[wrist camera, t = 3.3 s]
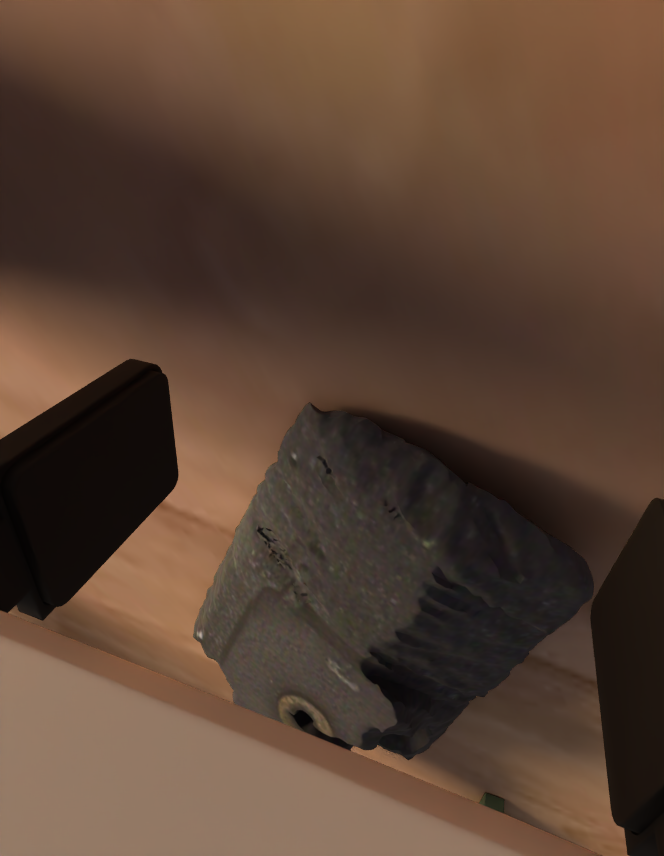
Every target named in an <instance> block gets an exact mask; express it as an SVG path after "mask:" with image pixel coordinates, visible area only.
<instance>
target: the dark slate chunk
mask: <svg viewBox="0 0 664 856" xmlns="http://www.w3.org/2000/svg"><path fill="white" fill-rule="evenodd" d="M593 592H594V583H593V578H592V574H591V571H590V569H589V567H588V565H587V563H586V561H585V560H584V558H583V557H582V556H580V555H579V554H578V553H577V552H576V551H575V550H573V549H572V548H571V547H569V546H568V545H566V544H564V543H563V542H561V541H560V540H558V539H556V538H555V537H553V536H551V535H549V534H548V533H546V532H545V531H543V530H542V529H540V528H539V527H538V526H536V525H535V524H534V523H532V522H531V521H529V520H528V519H526V518H525V517H523V516H521V515H520V514H519V513H517V512H516V511H515V510H514V509H513V508H512V507H511V506H510V505H509V504H508V503H507V502H506V501H505V500H499V499H497V498H496V497H495V496H493V495H492V494H491V493H489V492H488V491H485V490H483V489H480V488H478V487H476V486H474V485H473V484H472V483H470V482H469V483H464V482H463V481H462V480H461V479H460V478H459V477H458V476H457V475H456V474H454V473H453V472H452V471H451V470H450V469H449V468H448V467H447V466H446V465H444V464H443V463H442V462H441V461H440V460H439V459H437V458H436V457H435V456H434V455H432V454H431V453H430V452H428V451H427V450H425V449H423V448H420V447H417V446H415V445H412V444H408V443H406V441H405V440H404V439H402V438H400V437H398V436H396V435H394V434H391V433H388V432H386V431H383V430H382V429H380V427H379V426H378V425H376V424H375V423H373V422H372V421H370V420H369V419H367V418H366V417H355V416H352V415H351V414H349V413H347V412H345V411H329V412H322V411H320V410H318V409H317V408H316V407H315V406H314V405H313V404H311V403H310V402H309V403H308V404H307V405H306V406H305V407H304V408H303V410H302V412H301V413H300V414H299V415H298V417H297V419H296V423H295V424H294V425H293V426H292V427H291V428H290V429H289V430H288V431H287V433H286V435H285V437H284V439H283V441H282V444H281V447H280V450H279V451H278V462H276V463H274V464H272V465H271V466H270V467H269V468H268V469H267V471H266V474H265V480H264V481H263V482H262V483H260V484H259V485H258V487H257V494H256V495H254V497H253V499H252V501H251V503H250V505H249V507H248V509H247V511H246V513H245V515H244V516H243V518H242V520H241V522H240V525H239V526H237V528H236V530H235V536H234V539H233V542H232V544H231V545H230V547H229V549H228V551H227V553H226V556H225V558H224V560H223V561H222V563H221V564H220V565H219V568H218V570H217V572H216V574H215V576H214V583H213V585H212V586H211V587H210V588H209V589H208V590H207V596H206V599H205V600H204V603H203V605H202V607H201V608H200V612H199V615H198V617H197V619H196V622H195V626H194V634H193V637H194V638H195V639H196V640H197V641H199V642H200V643H201V645H202V648H203V650H204V652H205V654H206V655H207V657H209V658H211V659H214V660H216V661H217V662H218V664H219V666H220V668H221V669H222V671H223V673H224V674H225V676H226V679H227V681H228V683H229V684H230V686H231V688H232V689H233V690H234V691H233V701H234V703H235V704H236V705H239V706H241V707H243V708H246V709H248V710H251V711H253V712H256V713H258V714H261V715H263V716H266V717H268V718H271V719H273V720H276V721H278V722H281V723H283V724H286V725H288V726H290V727H293V728H295V729H298V730H300V731H303V732H305V733H308V734H310V735H313V736H315V737H318V738H320V739H323V740H325V741H328V742H330V743H332V744H335V745H337V746H340V747H342V748H345V749H347V750H350V751H351V748H352V747H353V746H356V747H359V748H361V749H363V750H372V749H374V748H376V747H377V745H379V746H381V747H382V748H384V749H386V750H389V751H391V752H394V753H397V754H400V755H402V756H403V757H404V758H406V759H408V760H410V759H412V758H413V757H414V756H415V755H416V754H420V753H422V752H424V751H426V750H427V749H428V748H429V747H430V745H431V744H432V743H433V742H434V741H435V740H437V739H438V738H439V737H440V736H441V735H442V734H443V733H444V732H445V731H446V730H447V728H448V726H449V725H451V724H452V723H453V721H454V720H455V719H456V718H457V717H458V716H459V715H460V714H461V712H462V711H463V710H464V709H465V708H466V707H467V706H468V704H469V701H471V700H473V699H474V698H476V696H480V697H485V696H486V695H487V694H488V691H489V690H491V689H494V688H495V687H497V686H498V685H499V684H500V683H501V682H502V681H503V680H504V679H506V678H507V677H508V676H509V674H510V671H511V670H512V668H514V667H515V666H516V665H517V664H520V663H522V662H523V661H524V659H525V658H526V657H527V655H528V654H529V651H531V650H532V649H533V648H534V647H535V646H536V645H537V644H538V643H539V642H541V641H542V640H543V639H544V638H545V637H546V636H547V635H549V634H551V633H553V632H554V631H555V630H557V629H558V628H559V627H560V626H562V625H563V624H564V623H566V622H567V621H568V620H570V619H571V618H572V617H573V616H574V615H575V614H576V613H577V612H578V610H579V609H580V607H581V606H582V605H583V604H584V603H586V602H588V601H589V600H590V599H591V598H592V596H593Z"/></svg>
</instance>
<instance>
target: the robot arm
mask: <svg viewBox="0 0 664 856" xmlns="http://www.w3.org/2000/svg"><path fill="white" fill-rule="evenodd" d="M177 481H178V465H177V456H176V447H175V439H174V430H173V421H172V412H171V403H170V394H169V385H168V379H167V377H166V375H165V374H163V373H162V370H161V369H160V367H159V366H158V365H156V364H152V363H148V362H144V361H140V360H136V359H129V360H126V361H125V362H123V363H122V364H120V365H118V366H117V367H115V368H114V369H112V370H110V371H109V372H107V373H106V374H104V375H102V376H101V377H99V378H98V379H96V380H94V381H93V382H91V383H90V384H88V385H87V386H85V387H83V388H82V389H80V390H79V391H77V392H75V393H74V394H72V395H71V396H69V397H67V398H66V399H64V400H63V401H61V402H59V403H58V404H56V405H55V406H53V407H51V408H50V409H48V410H47V411H45V412H43V413H42V414H40V415H39V416H37V417H35V418H34V419H32V420H31V421H29V422H27V423H26V424H24V425H23V426H21V427H20V428H18V429H16V430H15V431H13V432H12V433H10V434H8V435H7V436H5V437H4V438H2V439H0V856H602V855H599V854H597V853H595V852H592V851H590V850H588V849H585V848H583V847H581V846H578V845H576V844H574V843H571V842H569V841H567V840H564V839H562V838H560V837H557V836H555V835H553V834H550V833H548V832H546V831H543V830H541V829H539V828H536V827H534V826H532V825H529V824H527V823H525V822H522V821H520V820H518V819H515V818H513V817H511V816H508V815H506V814H503V813H501V812H499V811H496V810H494V809H491V808H489V807H486V806H484V805H481V804H479V803H477V802H474V801H472V800H469V799H467V798H464V797H462V796H459V795H457V794H455V793H452V792H450V791H447V790H445V789H442V788H440V787H437V786H435V785H433V784H430V783H428V782H425V781H423V780H420V779H418V778H415V777H413V776H411V775H408V774H406V773H403V772H401V771H398V770H396V769H393V768H391V767H389V766H386V765H384V764H381V763H379V762H376V761H374V760H371V759H369V758H367V757H364V756H362V755H359V754H357V753H354V752H352V751H350V750H347V749H345V748H342V747H340V746H337V745H335V744H332V743H330V742H328V741H325V740H323V739H320V738H318V737H315V736H313V735H310V734H308V733H305V732H303V731H300V730H298V729H295V728H293V727H290V726H288V725H286V724H283V723H281V722H278V721H276V720H273V719H271V718H268V717H266V716H263V715H261V714H258V713H256V712H253V711H251V710H248V709H246V708H243V707H241V706H239V705H236V704H234V703H231V702H229V701H226V700H224V699H221V698H219V697H216V696H214V695H211V694H209V693H206V692H204V691H201V690H199V689H196V688H194V687H191V686H189V685H186V684H184V683H181V682H179V681H177V680H174V679H172V678H169V677H167V676H164V675H162V674H159V673H157V672H154V671H152V670H149V669H147V668H144V667H142V666H139V665H137V664H134V663H132V662H129V661H127V660H124V659H122V658H119V657H117V656H114V655H112V654H109V653H107V652H104V651H102V650H99V649H96V648H94V647H91V646H89V645H86V644H84V643H81V642H79V641H76V640H74V639H71V638H69V637H66V636H64V635H61V634H59V633H56V632H54V631H51V630H49V629H46V628H44V627H41V626H39V625H36V624H34V623H31V622H28V621H26V620H23V619H21V618H18V617H16V616H13V615H11V614H8V612H9V611H10V610H11V609H12V608H13V607H14V606H15V605H17V607H18V610H19V611H20V612H22V613H25V614H27V615H30V616H32V617H35V618H37V619H40V620H42V621H43V620H44V619H45V618H46V617H47V616H48V615H49V614H50V613H51V612H52V611H53V609H54V608H55V607H59V606H62V605H64V604H66V603H67V602H68V601H69V600H70V599H71V598H72V597H73V596H74V595H75V594H76V593H77V592H78V590H79V589H80V588H81V587H82V586H83V585H84V584H85V583H86V582H87V581H88V580H89V579H90V578H91V577H92V576H93V575H94V573H95V572H96V571H97V570H98V569H99V568H100V567H101V566H102V565H103V564H104V563H105V562H106V561H107V560H108V559H109V557H110V556H111V555H112V554H113V553H114V552H115V551H116V550H117V549H118V548H119V547H120V546H121V545H122V544H123V543H124V541H125V540H126V539H127V538H128V537H129V536H130V535H131V534H132V533H133V532H134V531H135V530H136V529H137V528H138V527H139V525H140V524H141V523H142V522H143V521H144V520H145V519H146V518H147V517H148V516H149V515H150V514H151V513H152V512H153V511H154V510H155V508H156V507H157V506H158V505H159V504H160V503H161V502H162V501H163V500H164V499H165V498H166V497H167V496H168V495H169V494H170V492H171V491H172V490H173V489H174V487H175V486H176V483H177ZM590 619H591V629H592V638H593V648H594V657H595V666H596V675H597V684H598V694H599V703H600V712H601V721H602V730H603V739H604V749H605V758H606V767H607V776H608V785H609V795H610V804H611V811H612V816H613V819H614V822H615V823H616V824H617V825H618V826H621V827H623V828H624V830H625V838H626V846H627V854H628V855H629V856H664V499H659V498H655V499H653V500H652V501H651V502H650V504H649V505H648V507H647V509H646V511H645V512H644V514H643V516H642V518H641V519H640V521H639V523H638V524H637V526H636V528H635V530H634V531H633V533H632V535H631V536H630V538H629V540H628V542H627V543H626V545H625V547H624V549H623V550H622V552H621V554H620V555H619V557H618V559H617V561H616V562H615V564H614V566H613V567H612V569H611V571H610V573H609V574H608V576H607V578H606V579H605V581H604V583H603V585H602V586H601V588H600V590H599V592H598V593H597V595H596V597H595V599H594V601H593V604H592V608H591V615H590Z"/></svg>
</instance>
